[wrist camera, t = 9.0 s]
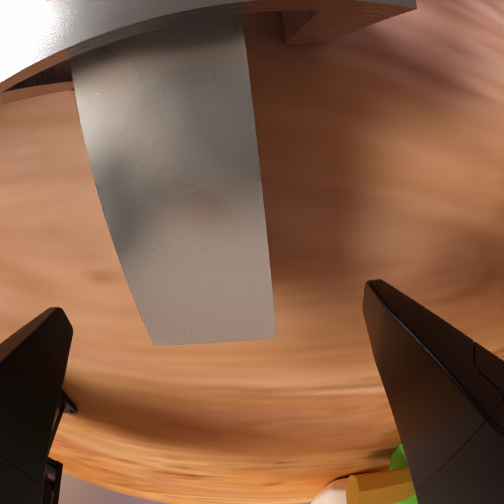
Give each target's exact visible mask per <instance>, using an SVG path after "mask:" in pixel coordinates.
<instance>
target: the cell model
mask: <svg viewBox="0 0 504 504" xmlns="http://www.w3.org/2000/svg"><path fill="white" fill-rule="evenodd" d="M347 479H348V478H343V479H338V480H335V481H333V482H331V483H330V484H329V485H327V486H325V487H324V488H323V489H321V490H320V491H319V492H318V493H317V495H316V496H315V498H314V499H313V501H312V503H311V504H347V501H346V483H347Z"/></svg>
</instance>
